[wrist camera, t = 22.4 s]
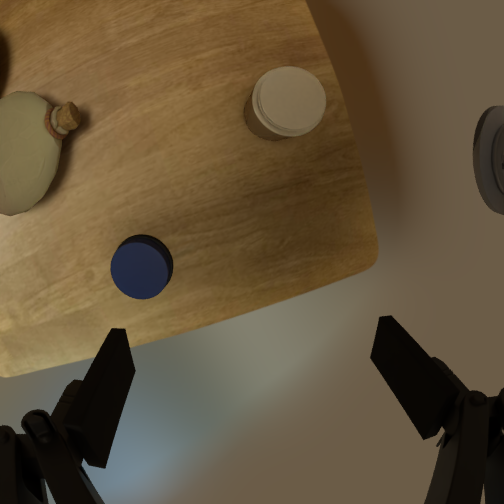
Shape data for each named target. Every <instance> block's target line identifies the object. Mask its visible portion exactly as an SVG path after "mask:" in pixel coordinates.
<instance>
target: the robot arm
mask: <svg viewBox="0 0 504 504" xmlns="http://www.w3.org/2000/svg"><path fill="white" fill-rule="evenodd" d="M491 163H492V171H493V176H494V179H495V182H496V185H497V187H498V189H499V190H500V192H501V193H502V194H503V195H504V125H502V126H501V127H499V129H498V130H497V132H496V133H495V136H494V139H493V143H492V151H491ZM370 358H371V360H372V361H373V363H374V364H375V366H376V367H377V369H378V370H379V372H380V373H381V375H382V376H383V378H384V379H385V381H386V382H387V384H388V385H389V387H390V389H391V390H392V392H393V393H394V394H395V396H396V398H397V399H398V401H399V402H400V404H401V405H402V407H403V409H404V410H405V412H406V413H407V415H408V416H409V418H410V420H411V421H412V423H413V424H414V426H415V427H416V429H417V430H418V432H419V434H420V435H421V437H422V439H423V440H425V439H428V438H430V437H433V436H435V435H437V433H438V432H439V430H440V428H441V427H443V428H444V430H445V432H444V434H443V435H442V437H441V439H440V440H439V442H438V443H437V445H436V446H437V447H438V446H439V445H440V443H441V445H440V450H439V454H438V458H437V462H436V466H435V470H434V473H433V477H432V480H431V484H430V487H429V490H428V493H427V497H426V500H425V503H424V504H480V502H481V496H482V490H483V484H484V491H485V504H504V435H503V432H502V430H504V388H503V389H501V391H500V393H499V395H498V396H494V397H487V396H486V395H485V394H483V393H482V392H479V391H473V390H472V391H469V390H468V389H467V387H466V386H465V385H464V384H463V383H462V382H461V381H460V380H459V378H458V377H457V376H456V375H455V374H453V372H452V371H451V370H450V369H449V368H448V367H447V365H446V364H445V363H444V362H443V361H441V360H439V359H438V358H436V357H432V358H431V357H430V356H429V355H428V354H427V353H426V352H425V351H424V350H423V349H422V348H421V347H420V345H419V344H418V343H417V342H416V341H415V340H414V339H413V338H412V337H411V336H410V335H409V334H408V332H407V331H406V330H405V329H404V328H403V327H402V326H401V325H400V324H399V323H398V322H397V321H396V320H395V319H394V318H393V317H392V316H391V315H390V316H382V317H379V321H378V327H377V331H376V335H375V339H374V344H373V348H372V352H371V356H370ZM135 371H136V370H135V367H134V363H133V359H132V355H131V351H130V347H129V343H128V339H127V334H126V330H125V329H119V328H111V330H110V332H109V334H108V335H107V337H106V339H105V341H104V343H103V344H102V346H101V348H100V350H99V352H98V353H97V355H96V357H95V359H94V361H93V363H92V364H91V367H90V368H89V370H88V372H87V374H86V376H85V378H84V380H83V381H82V380H73V381H72V382H71V383H70V384H69V385H67V387H66V389H65V390H64V392H63V394H62V396H61V398H60V399H59V402H58V403H57V405H56V407H55V409H54V411H53V413H52V415H51V416H49V414H48V413H47V412H45V411H44V410H39V409H37V410H32V411H30V412H28V413H27V414H26V415H25V416H24V417H23V419H22V421H21V426H22V428H23V430H24V431H25V433H26V434H16V433H15V431H14V430H13V429H12V428H11V427H9V426H5V425H2V426H0V504H48V498H47V493H46V486H45V480H46V482H47V485H48V487H49V489H50V492H51V494H52V496H53V498H54V500H55V502H56V504H105V503H104V502H103V500H102V499H101V497H100V495H99V494H98V492H97V491H96V489H95V487H94V486H93V484H92V482H91V481H90V479H89V477H88V475H87V474H86V472H85V470H84V468H83V467H82V465H81V464H82V461H83V458H84V459H85V461H86V462H87V464H88V465H90V466H95V467H99V468H106V464H107V460H108V457H109V454H110V450H111V446H112V443H113V440H114V437H115V433H116V430H117V427H118V423H119V419H120V417H121V414H122V410H123V407H124V404H125V401H126V398H127V395H128V392H129V389H130V386H131V383H132V380H133V377H134V374H135Z"/></svg>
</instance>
